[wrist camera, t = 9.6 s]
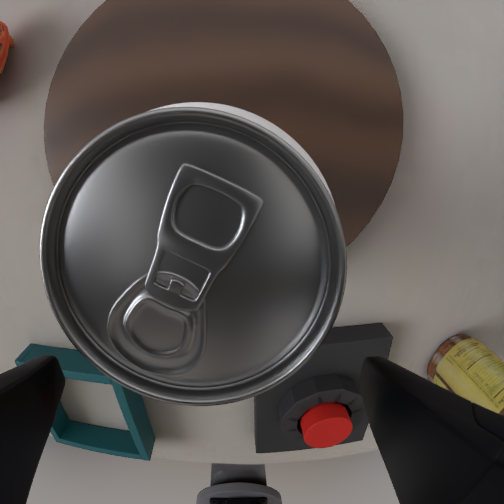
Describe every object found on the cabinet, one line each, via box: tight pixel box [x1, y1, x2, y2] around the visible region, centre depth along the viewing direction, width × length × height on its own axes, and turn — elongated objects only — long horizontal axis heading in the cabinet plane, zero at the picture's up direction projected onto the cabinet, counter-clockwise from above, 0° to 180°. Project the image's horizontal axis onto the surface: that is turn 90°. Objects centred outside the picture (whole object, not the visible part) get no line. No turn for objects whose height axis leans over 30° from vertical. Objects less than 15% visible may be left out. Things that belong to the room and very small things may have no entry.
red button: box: [300, 402, 353, 448], centre depth 19 cm, size 4×4×2 cm
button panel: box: [254, 323, 393, 453], centre depth 22 cm, size 12×10×4 cm
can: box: [40, 102, 347, 406], centre depth 11 cm, size 6×6×12 cm
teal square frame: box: [15, 344, 155, 460], centre depth 22 cm, size 11×11×3 cm
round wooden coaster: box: [44, 0, 403, 246], centre depth 16 cm, size 22×22×2 cm
